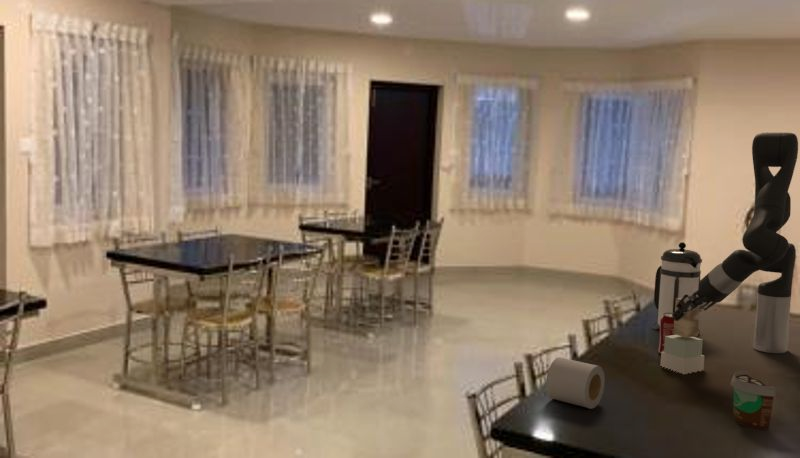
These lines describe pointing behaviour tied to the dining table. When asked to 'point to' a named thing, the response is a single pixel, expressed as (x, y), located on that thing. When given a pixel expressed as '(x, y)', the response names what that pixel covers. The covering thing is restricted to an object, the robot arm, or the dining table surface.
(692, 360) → the tower base
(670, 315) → the soda can
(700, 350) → the tower top
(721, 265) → the robot arm
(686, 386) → the dining table surface
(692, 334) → the beech pillar
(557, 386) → the toilet paper
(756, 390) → the food container
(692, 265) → the coffee press
